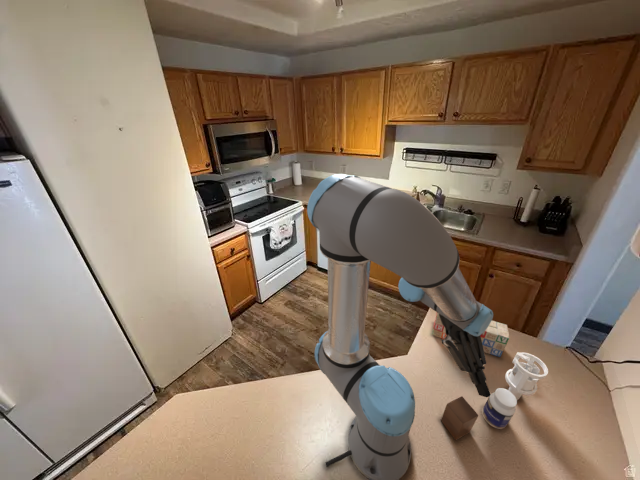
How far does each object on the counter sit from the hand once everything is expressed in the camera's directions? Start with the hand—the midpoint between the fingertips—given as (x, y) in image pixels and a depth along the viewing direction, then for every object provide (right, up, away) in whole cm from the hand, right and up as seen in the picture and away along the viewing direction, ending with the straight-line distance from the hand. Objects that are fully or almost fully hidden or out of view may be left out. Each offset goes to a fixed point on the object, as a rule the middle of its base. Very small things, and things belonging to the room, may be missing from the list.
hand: (484, 395), depth 71 cm
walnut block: (-10, -6, -3) cm, 12 cm away
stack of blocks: (+6, +7, +21) cm, 23 cm away
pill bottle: (+2, -5, -1) cm, 6 cm away
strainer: (+11, -2, +4) cm, 12 cm away
